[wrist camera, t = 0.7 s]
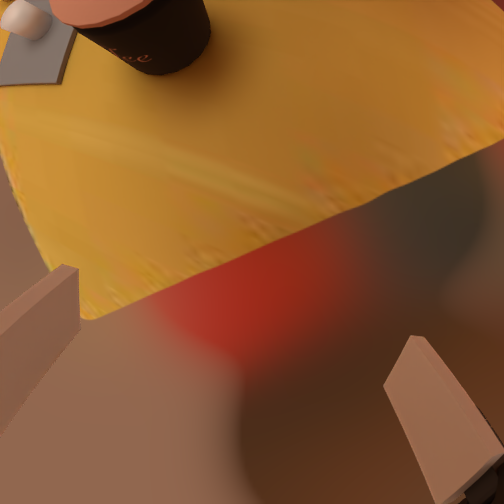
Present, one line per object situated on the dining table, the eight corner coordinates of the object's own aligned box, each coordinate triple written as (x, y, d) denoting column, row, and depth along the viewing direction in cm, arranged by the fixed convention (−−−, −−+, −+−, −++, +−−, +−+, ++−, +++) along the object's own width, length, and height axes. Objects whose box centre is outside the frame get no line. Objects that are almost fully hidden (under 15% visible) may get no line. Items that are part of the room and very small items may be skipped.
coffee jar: (113, 38, 29) (34, -16, 12) (183, -10, 27) (143, -94, 10) (153, 94, 32) (76, 54, 14) (229, 43, 30) (212, -39, 13)
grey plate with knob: (35, -13, 24) (7, -29, 16) (102, -26, 25) (78, -51, 17) (-2, 86, 29) (-36, 82, 21) (60, 84, 30) (24, 74, 22)
